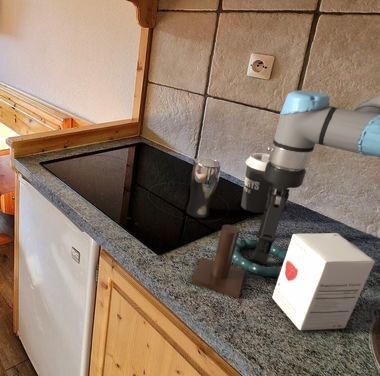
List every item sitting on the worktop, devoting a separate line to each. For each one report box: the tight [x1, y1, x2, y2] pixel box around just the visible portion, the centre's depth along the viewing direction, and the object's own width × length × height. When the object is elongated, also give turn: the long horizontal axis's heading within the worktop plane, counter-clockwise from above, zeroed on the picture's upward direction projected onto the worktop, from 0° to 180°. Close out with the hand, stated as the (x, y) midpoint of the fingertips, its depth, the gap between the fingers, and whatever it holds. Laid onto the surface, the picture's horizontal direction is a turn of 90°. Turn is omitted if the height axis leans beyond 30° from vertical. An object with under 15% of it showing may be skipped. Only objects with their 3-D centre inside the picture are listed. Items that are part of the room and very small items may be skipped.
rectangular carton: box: [271, 232, 376, 331], centre depth 73 cm, size 9×9×15 cm
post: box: [191, 224, 246, 299], centre depth 82 cm, size 9×9×12 cm
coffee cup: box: [240, 152, 273, 214], centre depth 112 cm, size 10×10×15 cm
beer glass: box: [185, 157, 222, 219], centre depth 108 cm, size 7×7×15 cm
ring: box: [232, 238, 287, 278], centre depth 91 cm, size 13×13×2 cm
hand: (261, 248), depth 96 cm, fingers open, 13 cm apart
